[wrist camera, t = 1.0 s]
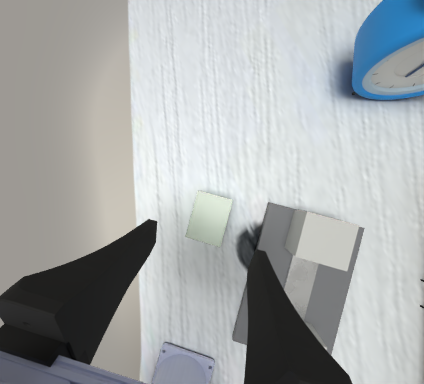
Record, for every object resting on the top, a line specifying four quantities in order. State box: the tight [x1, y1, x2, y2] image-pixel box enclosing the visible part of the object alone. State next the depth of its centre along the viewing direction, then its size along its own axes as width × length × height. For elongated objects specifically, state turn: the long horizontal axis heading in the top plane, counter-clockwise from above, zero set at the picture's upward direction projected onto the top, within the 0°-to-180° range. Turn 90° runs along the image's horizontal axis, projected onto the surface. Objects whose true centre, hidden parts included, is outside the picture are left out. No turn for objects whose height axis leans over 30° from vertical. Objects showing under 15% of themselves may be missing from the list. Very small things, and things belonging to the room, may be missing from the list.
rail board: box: [233, 203, 364, 355], centre depth 26 cm, size 20×13×1 cm, turn 165°
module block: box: [185, 191, 233, 247], centre depth 25 cm, size 6×4×5 cm
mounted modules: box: [285, 210, 359, 350], centre depth 23 cm, size 20×6×4 cm, turn 165°
